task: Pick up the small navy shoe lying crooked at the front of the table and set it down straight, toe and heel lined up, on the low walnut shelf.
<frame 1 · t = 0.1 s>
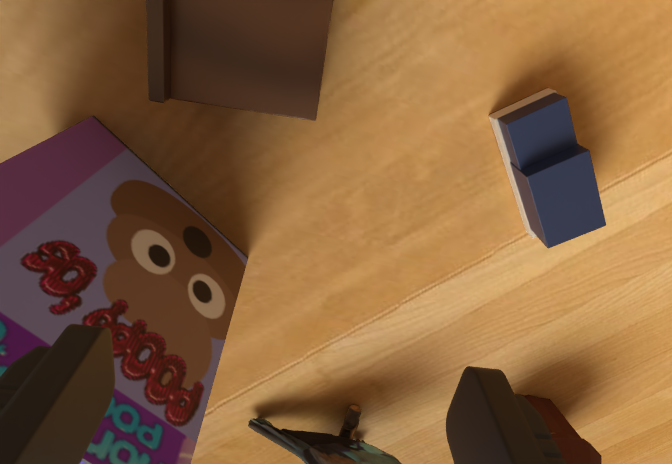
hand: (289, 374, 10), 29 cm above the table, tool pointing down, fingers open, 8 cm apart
cereal box: (159, 207, 40), on the table
muffin: (521, 420, 54), on the table
bird figurine: (338, 428, 54), on the table
shoe: (536, 164, 39), on the table
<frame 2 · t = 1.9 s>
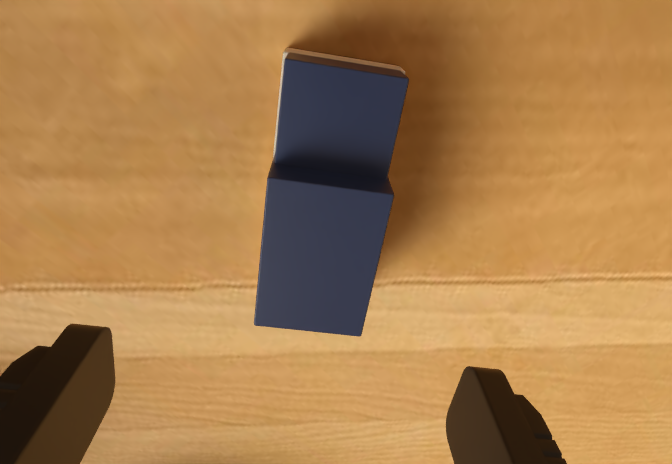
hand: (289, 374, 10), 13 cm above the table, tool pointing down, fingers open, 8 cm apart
shoe: (323, 185, 22), on the table
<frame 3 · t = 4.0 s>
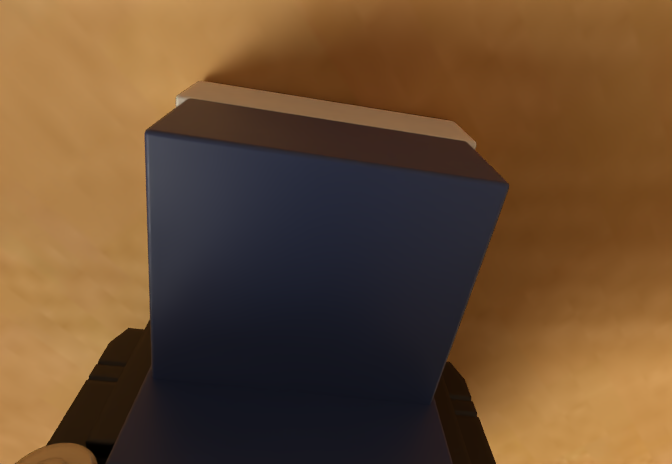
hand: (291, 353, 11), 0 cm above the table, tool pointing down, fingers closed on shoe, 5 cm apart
shoe: (293, 341, 11), on the table, touching gripper
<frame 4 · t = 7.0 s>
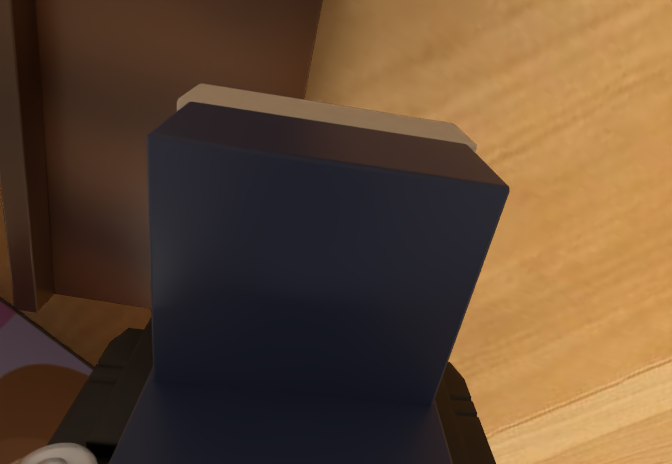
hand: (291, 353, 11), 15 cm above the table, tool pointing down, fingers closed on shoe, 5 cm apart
cereal box: (64, 376, 31), on the table
shoe: (294, 343, 11), point 15 cm above the table, touching gripper
shelf: (192, 87, 22), on the table
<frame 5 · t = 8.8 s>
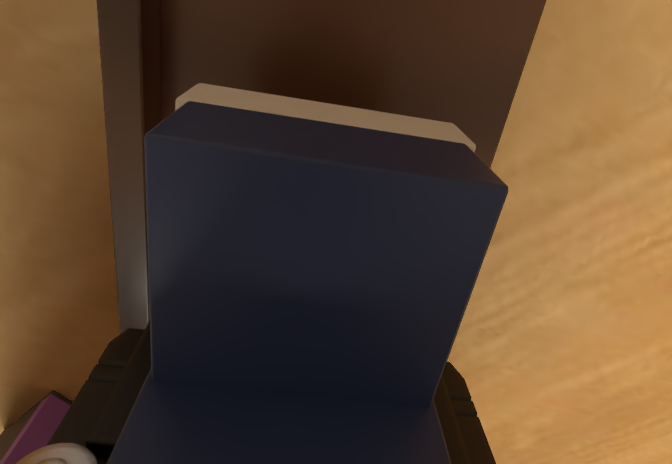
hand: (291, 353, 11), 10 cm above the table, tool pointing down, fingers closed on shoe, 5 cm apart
shoe: (293, 343, 11), point 9 cm above the table, touching gripper
shelf: (304, 194, 20), on the table
when the fingers open (5 cm above the table, at t = 10.4 s): shoe stays where it is, resting on shelf.
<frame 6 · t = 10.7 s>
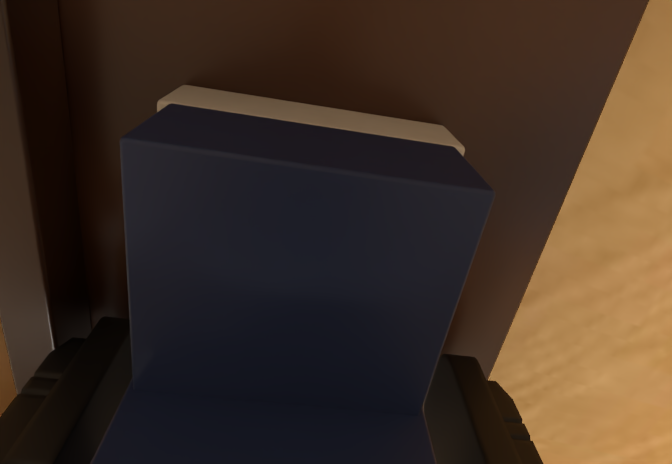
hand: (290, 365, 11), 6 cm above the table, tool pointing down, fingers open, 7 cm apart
shoe: (282, 348, 11), point 5 cm above the table, touching shelf
shelf: (292, 247, 16), on the table
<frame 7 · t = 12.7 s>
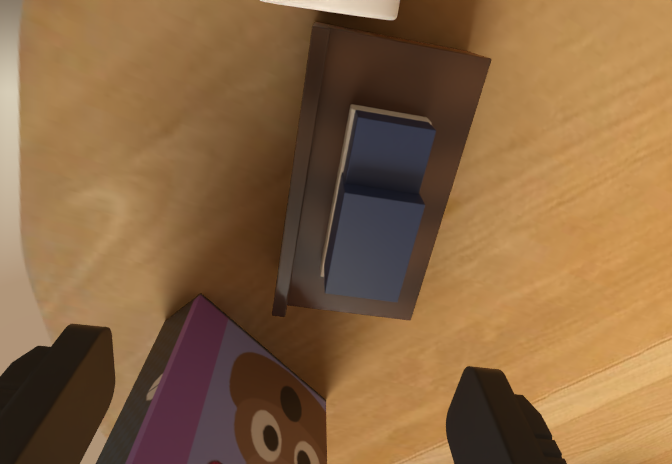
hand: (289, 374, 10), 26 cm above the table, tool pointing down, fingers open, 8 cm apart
cereal box: (250, 361, 44), on the table
shoe: (369, 197, 31), point 5 cm above the table, touching shelf
shelf: (363, 172, 36), on the table
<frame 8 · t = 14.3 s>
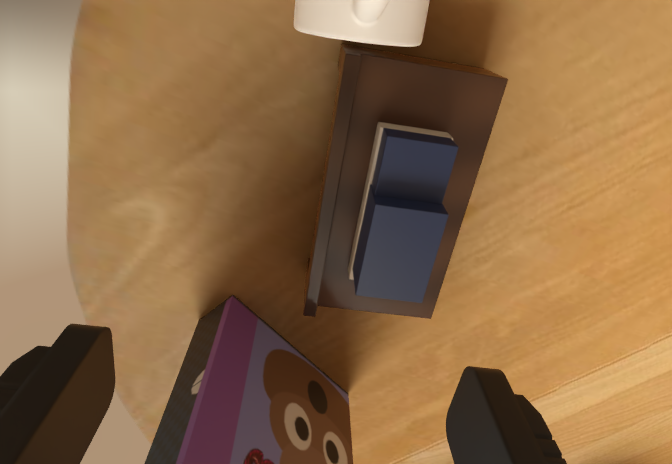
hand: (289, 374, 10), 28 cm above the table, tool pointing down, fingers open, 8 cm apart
cereal box: (277, 358, 47), on the table
shoe: (394, 205, 34), point 5 cm above the table, touching shelf
shelf: (385, 180, 38), on the table
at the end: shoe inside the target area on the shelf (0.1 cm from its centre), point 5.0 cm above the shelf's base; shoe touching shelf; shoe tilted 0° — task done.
